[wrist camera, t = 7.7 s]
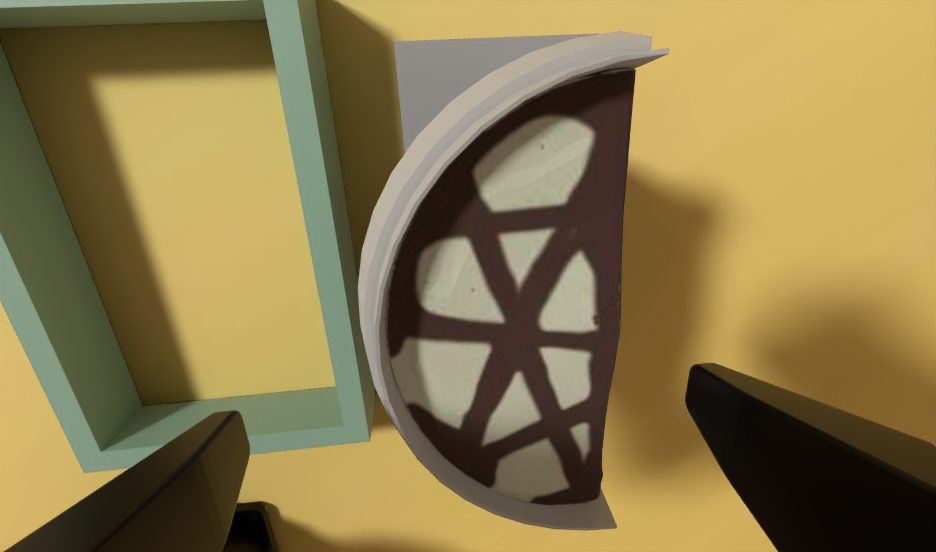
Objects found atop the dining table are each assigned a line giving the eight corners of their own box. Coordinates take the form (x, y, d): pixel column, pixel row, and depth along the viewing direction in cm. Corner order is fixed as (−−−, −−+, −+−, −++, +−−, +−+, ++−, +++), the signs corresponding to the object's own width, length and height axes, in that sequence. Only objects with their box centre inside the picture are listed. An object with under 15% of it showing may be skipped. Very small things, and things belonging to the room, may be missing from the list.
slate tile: (574, 346, 22) (580, 356, 21) (425, 360, 22) (425, 372, 21) (588, 37, 17) (598, 33, 16) (395, 45, 17) (393, 41, 16)
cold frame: (376, 399, 22) (369, 441, 19) (127, 425, 21) (84, 473, 18) (313, -15, 16) (290, -41, 13) (-51, -4, 15) (-161, -31, 12)
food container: (364, 72, 16) (287, 24, 7) (529, 65, 16) (674, 11, 7) (399, 361, 20) (383, 573, 11) (528, 349, 21) (615, 543, 12)
